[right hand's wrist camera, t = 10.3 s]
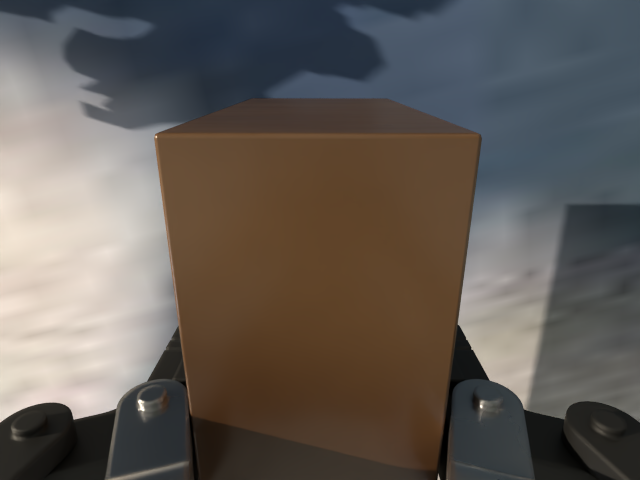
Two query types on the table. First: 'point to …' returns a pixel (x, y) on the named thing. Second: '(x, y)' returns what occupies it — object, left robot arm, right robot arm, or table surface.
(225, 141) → the post
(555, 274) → the table surface
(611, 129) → the table surface
